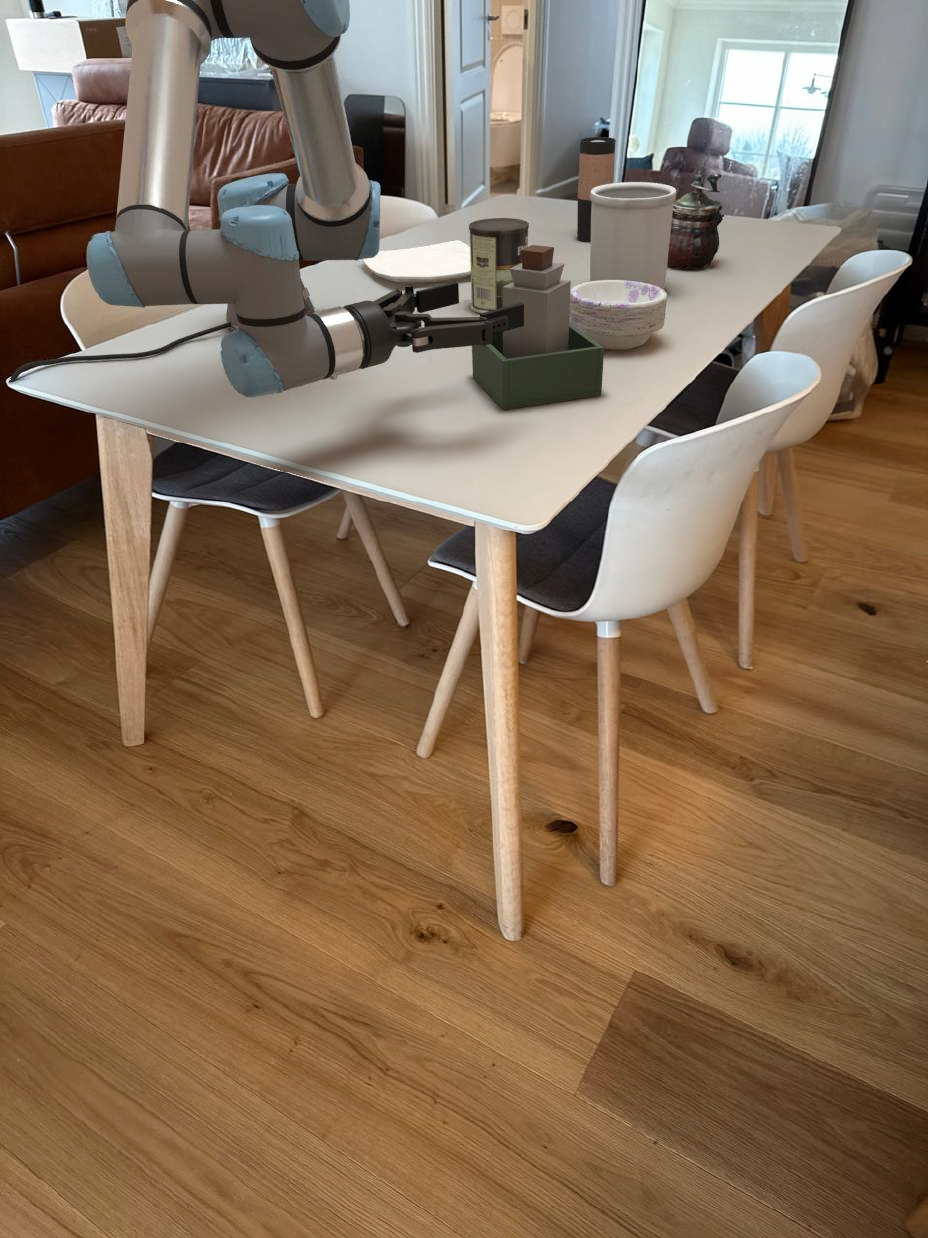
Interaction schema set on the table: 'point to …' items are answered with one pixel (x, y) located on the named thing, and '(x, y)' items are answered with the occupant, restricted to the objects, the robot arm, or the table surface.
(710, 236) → the coffee grinder
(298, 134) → the robot arm
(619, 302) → the paper bowls
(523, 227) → the coffee can
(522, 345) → the perfume bottle
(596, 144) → the travel mug
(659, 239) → the utensil holder
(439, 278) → the plate
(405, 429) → the table surface
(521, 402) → the tote
